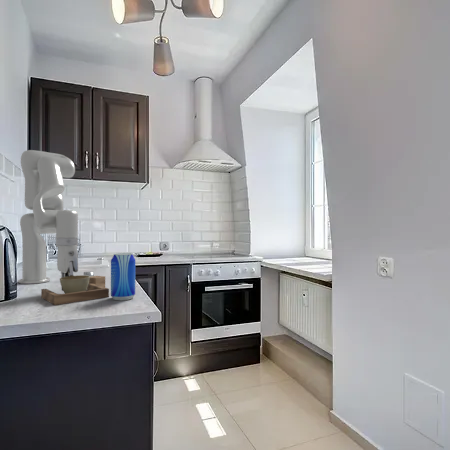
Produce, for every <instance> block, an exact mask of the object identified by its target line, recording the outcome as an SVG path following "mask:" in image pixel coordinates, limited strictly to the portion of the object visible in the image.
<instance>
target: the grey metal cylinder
mask: <svg viewBox="0 0 450 450" xmlns="http://www.w3.org/2000/svg"><path fill="white" fill-rule="evenodd" d="M94 274H95V272H94V271H84V272H83V275H86V276H90V277H92V276H95V275H94Z"/></svg>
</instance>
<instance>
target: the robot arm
mask: <svg viewBox="0 0 450 450" xmlns="http://www.w3.org/2000/svg"><path fill="white" fill-rule="evenodd" d="M20 155H21V156H20V166H21V169H22V173H23V177H24V205H25V208H26V209H28V210H31V211H32V212H30V213H29V212H28V213H25V214H23V215H22V216H21V217H20V220H19V223H20V232H21V238H22V242H21V243H22V248H21V249H22V255H21V256H22V260H21V261H22V263H21V264H22V269H21V270H22V277H21V278H20V279H18V284H24V285H25V284H27V285H28V284H31V285H32V284H40V283H41V284H42V283H47V282H49V281H50V280H51V277H48V276H47V242H46V240H45V239H44V237H42V235H44V234H49V235H50V234H51V235H52V234H55V247H57V257H56V258H57V260H56V261H57V263H56V266H57V268H56V269H57V271H59V272H60V274H61V276H60V278H62V277H67V276H68V277H72V276H74V273H78V272H79V255H78V244H79V243H78V242H79V240H78V239H79V236H78V234H79V232H78V230H79V228H78V227H79V225H78V223H79V221H78V220H79V213H78V212H77V211H76V210H73V209H72V210H71V209H70V210H69V209H67V210H66V209H65V210H64V197H63V195H62V194H63V192H65V188H66V186H65V184H64V183H65V182H64V178H65V179H66V178H67V179H71V178H73V177H74V175H75V173H76V166H75V164H74V161H72V159H71V158H69V157H67V156H65V155H64V154H60V153H56V152H55V153H54V152H47V151H43V150H35V149H34V150H33V149H29V150H24V151H23V152H22V153H21V154H20ZM61 291H62V292H64V291H63V289H62V288H61Z"/></svg>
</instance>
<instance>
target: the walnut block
mask: <svg viewBox="0 0 450 450" xmlns="http://www.w3.org/2000/svg"><path fill="white" fill-rule="evenodd" d="M90 283H93V284H96V285H99V286H102V287H105V288H106V276H103V275H94V276H92V277H90V279H89V284H90ZM86 290H88V287H87V289H86Z"/></svg>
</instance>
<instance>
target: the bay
mask: <svg viewBox="0 0 450 450" xmlns="http://www.w3.org/2000/svg"><path fill="white" fill-rule="evenodd" d="M40 292H41V295H40V296H41V299H43V300H45V301H46V302H48V303H50V304H52V305H54V306H59V305H65V304H71V303H77V302H78V303H79V302H84V301H90V300H96V299H97V300H98V299H103V298H109V297H110V289H109V288H108V287H106V286H105V287H102V286H99V285H96V284H93V283H90V284H88V289H87V290H86V291H82V292H74V293H67V294H65V293H60V294H58V293H56V292H54V291H52V290H49V289H47V288H41V291H40Z"/></svg>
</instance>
